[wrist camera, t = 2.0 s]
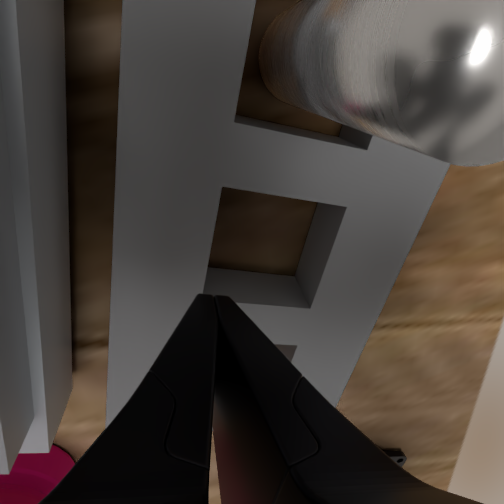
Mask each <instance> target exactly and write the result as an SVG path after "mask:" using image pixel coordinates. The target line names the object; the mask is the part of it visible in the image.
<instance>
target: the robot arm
mask: <svg viewBox="0 0 504 504" xmlns="http://www.w3.org/2000/svg"><path fill="white" fill-rule="evenodd" d="M212 427H213V435H214V444H215V452H216V461H217V470H218V478H219V487H220V495H221V504H483V503H480V502H477V501H474V500H471V499H468V498H465V497H462V496H459V495H456V494H453V493H449V492H447V491H444V490H440V489H438V488H435V487H433V486H430V485H428V484H426V483H424V482H422V481H421V480H419V479H417V478H415V477H414V476H412V475H411V474H410V473H408V472H407V471H405V470H404V469H403V468H402V466H403V464H404V463H405V461H406V459H407V458H406V456H405V454H404V452H402V451H382V450H381V449H380V448H379V447H378V446H377V445H376V444H374V443H373V442H372V441H371V440H370V439H369V438H368V437H367V436H366V435H364V434H363V433H362V432H361V431H360V430H359V429H358V428H357V427H355V426H354V425H353V424H352V423H351V422H350V421H349V420H348V419H347V418H346V417H344V416H343V415H342V414H341V413H340V412H339V411H338V410H337V409H336V408H335V407H334V406H333V405H332V404H331V403H329V401H328V400H327V399H326V398H325V397H324V396H323V395H322V394H321V393H320V392H319V391H318V390H317V389H316V388H315V387H314V386H313V385H312V384H311V383H310V382H309V381H308V380H307V379H306V378H305V377H304V376H303V377H302V373H301V372H300V371H299V370H298V369H297V368H296V367H295V366H294V365H293V364H292V363H291V362H290V361H289V360H288V358H287V357H286V356H285V355H284V354H283V353H282V352H281V351H280V350H279V349H278V348H277V347H276V346H275V345H274V343H273V342H272V341H271V340H270V339H269V338H268V337H267V336H266V335H265V334H264V333H263V332H262V331H261V330H260V328H259V327H258V326H257V325H256V324H255V323H254V322H253V321H252V320H251V319H250V318H249V317H248V316H247V314H246V313H245V312H244V311H243V310H242V309H241V308H240V307H239V306H238V305H237V304H236V303H235V302H234V301H233V299H232V298H231V297H229V296H226V295H214V297H213V295H212V294H202V293H199V294H197V295H196V297H195V298H194V300H193V302H192V303H191V305H190V306H189V308H188V309H187V311H186V313H185V314H184V316H183V317H182V319H181V320H180V322H179V324H178V325H177V327H176V328H175V330H174V331H173V333H172V335H171V336H170V338H169V339H168V341H167V342H166V344H165V346H164V347H163V349H162V350H161V352H160V354H159V355H158V357H157V358H156V360H155V361H154V363H153V365H152V366H151V368H150V369H149V372H147V374H146V375H145V377H144V378H143V380H142V381H141V383H140V385H139V386H138V387H137V389H136V390H135V392H134V393H133V395H132V396H131V398H130V399H129V400H128V402H127V403H126V404H125V406H124V407H123V408H122V409H121V411H120V412H119V413H118V414H117V415H116V417H115V418H114V419H113V420H112V422H111V423H110V424H109V425H108V426H107V428H106V429H105V430H104V431H103V432H102V433H101V435H100V436H99V437H98V438H97V439H96V440H95V442H94V443H93V444H92V445H91V446H90V447H89V449H88V450H87V451H86V452H85V453H84V454H83V456H82V457H81V458H80V459H79V460H78V461H77V463H76V464H75V465H74V466H73V467H72V468H71V470H70V471H69V472H68V473H67V474H66V475H65V477H64V478H63V479H62V480H61V481H60V482H59V483H58V484H57V485H56V487H55V488H54V489H53V490H52V491H51V492H50V493H49V494H48V495H47V496H45V497H44V498H43V499H42V500H41V501H40V502H39V503H38V504H208V491H209V470H210V456H211V440H212Z"/></svg>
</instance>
